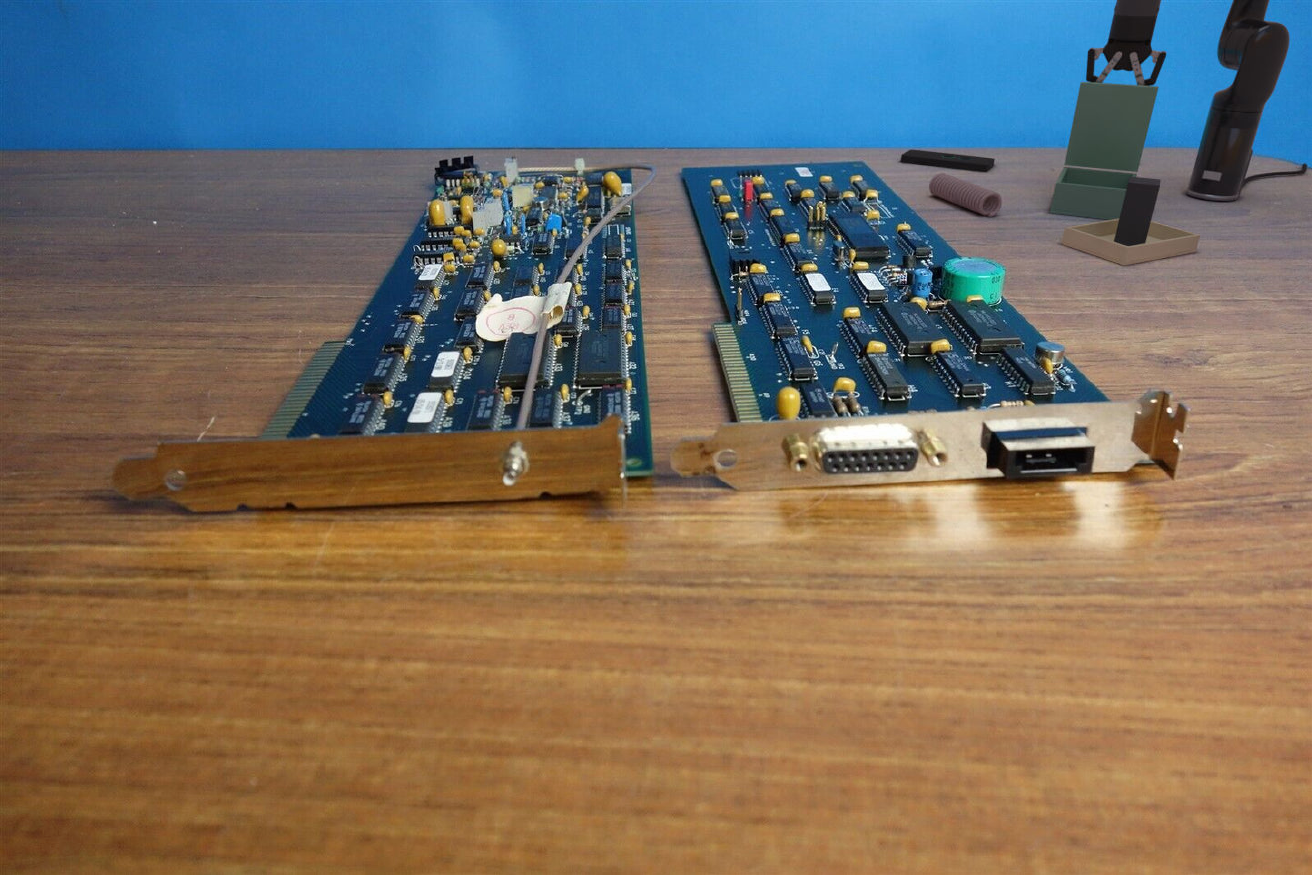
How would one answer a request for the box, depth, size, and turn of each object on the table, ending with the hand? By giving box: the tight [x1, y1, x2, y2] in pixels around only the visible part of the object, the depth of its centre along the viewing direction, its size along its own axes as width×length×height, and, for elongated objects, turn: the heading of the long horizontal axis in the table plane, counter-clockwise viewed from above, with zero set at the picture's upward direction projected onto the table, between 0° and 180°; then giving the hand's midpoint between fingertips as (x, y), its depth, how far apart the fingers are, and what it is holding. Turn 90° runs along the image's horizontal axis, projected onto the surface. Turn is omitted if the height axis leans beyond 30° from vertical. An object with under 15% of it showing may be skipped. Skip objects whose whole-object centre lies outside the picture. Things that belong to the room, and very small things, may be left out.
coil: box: [928, 172, 1003, 218], centre depth 184 cm, size 5×5×18 cm
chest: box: [1049, 166, 1138, 221], centre depth 183 cm, size 16×14×6 cm
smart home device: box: [900, 149, 996, 173], centre depth 218 cm, size 8×2×20 cm
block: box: [1114, 176, 1161, 246], centre depth 158 cm, size 5×5×11 cm
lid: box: [1064, 81, 1159, 173], centre depth 184 cm, size 16×14×5 cm
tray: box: [1061, 219, 1201, 266], centre depth 160 cm, size 17×13×3 cm
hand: (1114, 106), depth 182 cm, fingers open, 6 cm apart
